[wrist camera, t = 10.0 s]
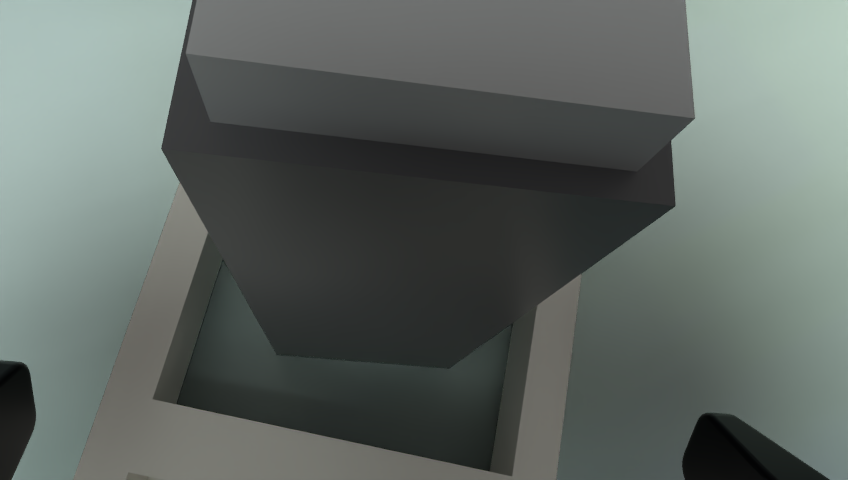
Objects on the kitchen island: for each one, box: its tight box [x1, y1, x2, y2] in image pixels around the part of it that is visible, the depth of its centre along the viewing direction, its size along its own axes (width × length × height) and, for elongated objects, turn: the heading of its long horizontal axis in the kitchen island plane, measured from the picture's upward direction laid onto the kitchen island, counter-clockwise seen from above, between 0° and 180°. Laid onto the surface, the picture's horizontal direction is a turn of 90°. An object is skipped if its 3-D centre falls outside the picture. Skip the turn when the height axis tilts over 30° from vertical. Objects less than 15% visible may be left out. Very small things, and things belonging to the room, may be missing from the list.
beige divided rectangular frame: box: [73, 183, 582, 480], centre depth 14 cm, size 20×10×3 cm, turn 169°
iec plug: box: [161, 0, 695, 368], centre depth 11 cm, size 4×4×13 cm
